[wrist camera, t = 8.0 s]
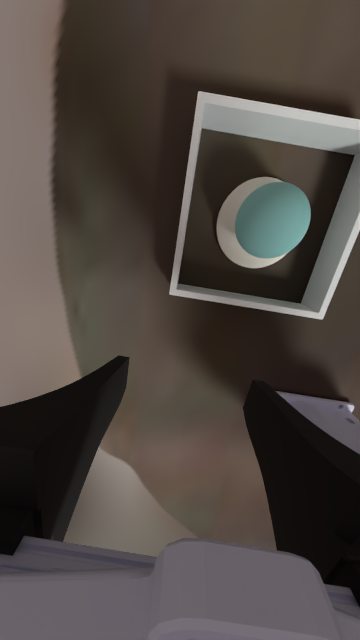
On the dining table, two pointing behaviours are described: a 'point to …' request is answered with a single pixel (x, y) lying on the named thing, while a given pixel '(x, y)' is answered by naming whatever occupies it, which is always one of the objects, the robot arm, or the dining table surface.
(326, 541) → the robot arm
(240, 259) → the saucer
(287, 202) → the ball
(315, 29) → the dining table surface
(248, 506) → the dining table surface
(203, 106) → the white square frame
